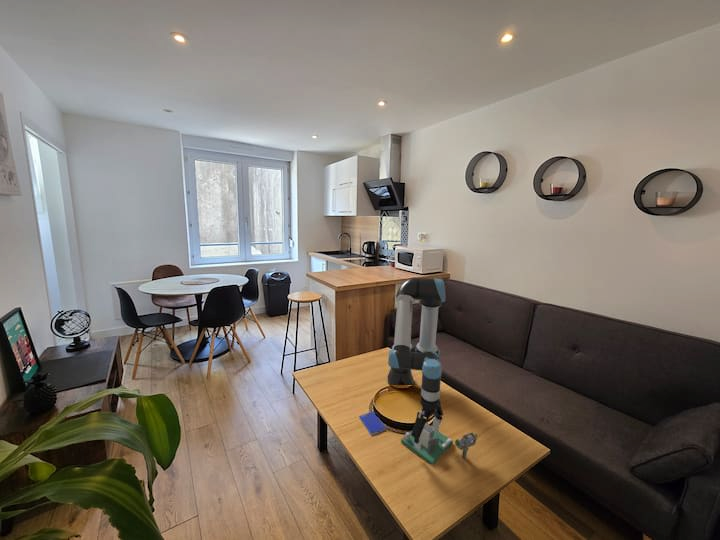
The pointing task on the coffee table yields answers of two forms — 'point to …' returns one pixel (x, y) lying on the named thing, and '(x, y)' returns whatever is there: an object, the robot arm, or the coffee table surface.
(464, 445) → the mechanical component
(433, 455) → the board
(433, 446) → the header
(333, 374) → the coffee table surface
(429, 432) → the plug
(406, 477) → the coffee table surface
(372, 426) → the hard drive
